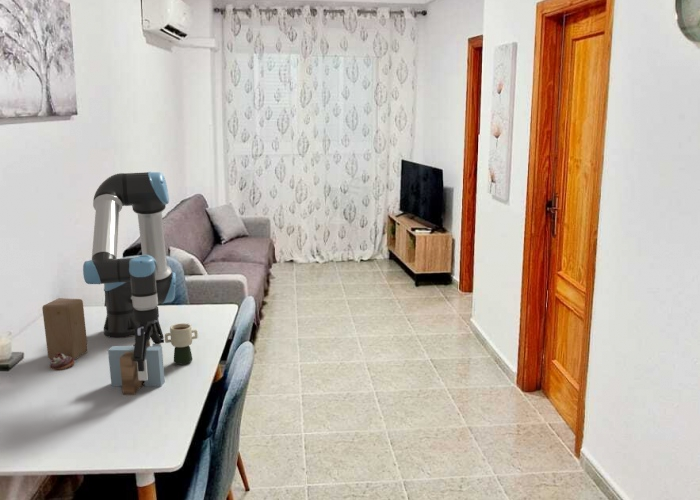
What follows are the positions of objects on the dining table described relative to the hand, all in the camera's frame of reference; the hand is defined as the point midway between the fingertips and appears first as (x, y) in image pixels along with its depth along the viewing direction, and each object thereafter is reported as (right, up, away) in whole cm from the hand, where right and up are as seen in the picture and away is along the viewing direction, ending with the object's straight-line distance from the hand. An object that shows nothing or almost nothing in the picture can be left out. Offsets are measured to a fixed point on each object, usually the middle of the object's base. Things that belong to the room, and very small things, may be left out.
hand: (151, 371), depth 214 cm
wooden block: (-37, +1, +26) cm, 45 cm away
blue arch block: (-4, -4, +1) cm, 6 cm away
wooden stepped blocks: (-4, -4, +1) cm, 6 cm away
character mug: (+6, 0, +18) cm, 19 cm away
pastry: (-35, -2, +17) cm, 39 cm away
